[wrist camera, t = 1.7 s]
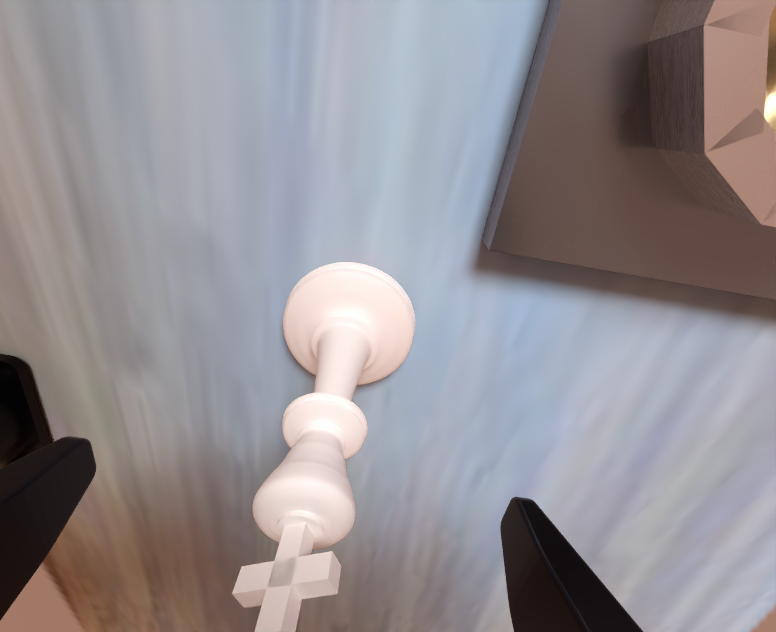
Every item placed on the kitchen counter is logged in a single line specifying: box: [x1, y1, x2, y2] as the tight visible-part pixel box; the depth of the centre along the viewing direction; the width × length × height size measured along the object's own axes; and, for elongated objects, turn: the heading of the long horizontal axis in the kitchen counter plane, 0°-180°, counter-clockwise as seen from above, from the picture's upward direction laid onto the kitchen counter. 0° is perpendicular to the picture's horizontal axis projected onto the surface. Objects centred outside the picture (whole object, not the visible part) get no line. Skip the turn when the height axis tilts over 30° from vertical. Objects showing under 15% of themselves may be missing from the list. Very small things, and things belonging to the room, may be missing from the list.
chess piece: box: [232, 262, 415, 632], centre depth 10 cm, size 5×5×10 cm
